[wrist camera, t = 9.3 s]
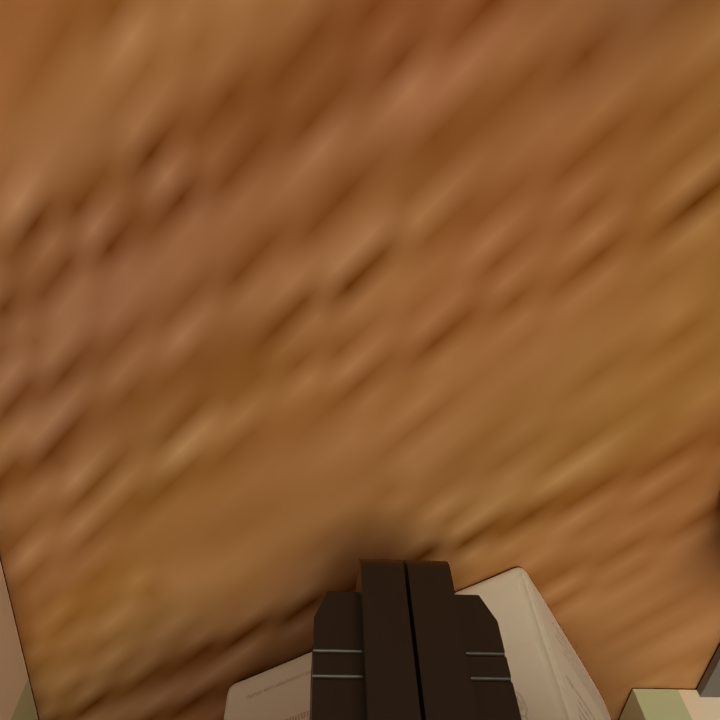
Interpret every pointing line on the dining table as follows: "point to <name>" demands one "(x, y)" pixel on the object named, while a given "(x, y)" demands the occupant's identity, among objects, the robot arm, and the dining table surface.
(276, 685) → the small box
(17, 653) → the channel
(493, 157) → the dining table surface
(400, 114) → the dining table surface
